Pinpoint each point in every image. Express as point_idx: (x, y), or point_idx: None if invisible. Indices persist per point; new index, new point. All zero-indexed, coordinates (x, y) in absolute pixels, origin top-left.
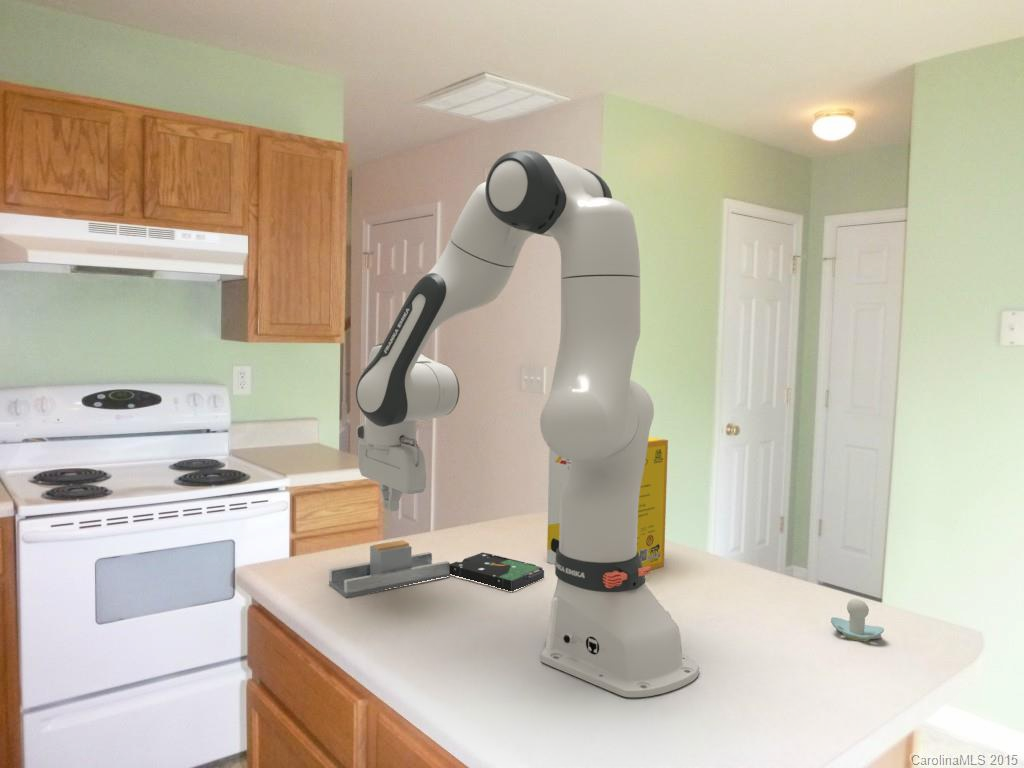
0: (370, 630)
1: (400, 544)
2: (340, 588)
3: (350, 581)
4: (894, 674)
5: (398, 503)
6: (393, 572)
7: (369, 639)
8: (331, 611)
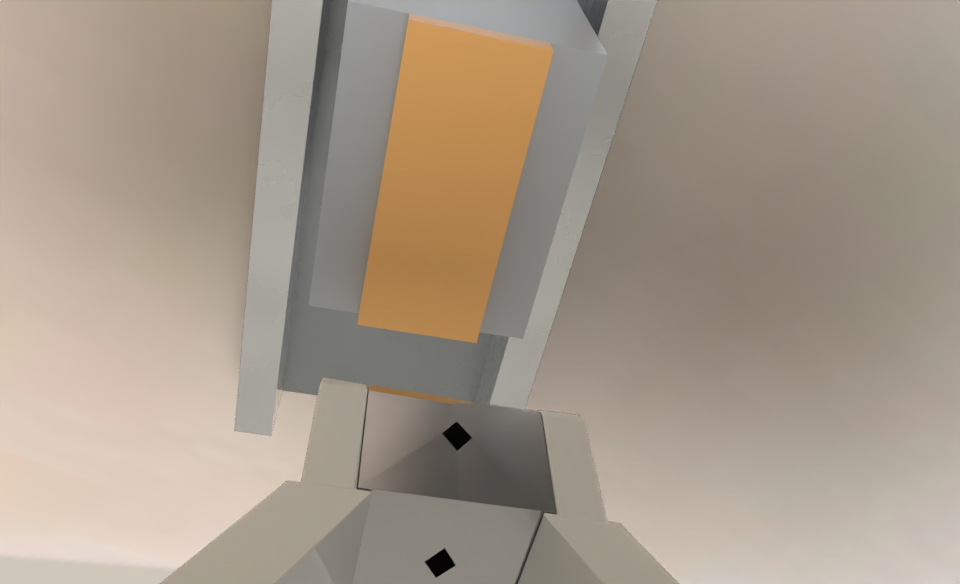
0: (885, 513)
1: (523, 141)
2: None
3: None
4: None
5: (598, 490)
6: (584, 196)
7: (939, 550)
8: None
